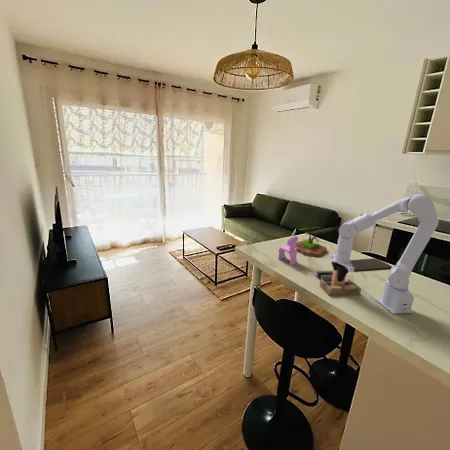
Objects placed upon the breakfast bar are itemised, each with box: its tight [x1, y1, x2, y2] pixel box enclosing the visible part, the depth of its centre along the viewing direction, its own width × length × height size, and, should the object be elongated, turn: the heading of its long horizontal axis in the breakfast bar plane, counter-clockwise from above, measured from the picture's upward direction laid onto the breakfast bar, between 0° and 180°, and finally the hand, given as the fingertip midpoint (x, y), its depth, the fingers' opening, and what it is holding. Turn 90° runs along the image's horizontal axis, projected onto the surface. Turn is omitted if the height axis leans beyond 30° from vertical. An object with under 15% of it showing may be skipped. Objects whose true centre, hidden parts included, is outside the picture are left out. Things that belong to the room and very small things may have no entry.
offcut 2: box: [342, 285, 356, 290], centre depth 107 cm, size 2×5×3 cm, turn 97°
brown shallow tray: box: [319, 278, 362, 296], centre depth 108 cm, size 8×14×3 cm, turn 97°
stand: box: [314, 270, 333, 282], centre depth 118 cm, size 6×9×2 cm, turn 97°
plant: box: [295, 232, 328, 258], centre depth 153 cm, size 20×20×11 cm
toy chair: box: [277, 235, 299, 266], centre depth 134 cm, size 8×9×15 cm
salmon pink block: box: [331, 270, 347, 285], centre depth 109 cm, size 2×5×8 cm, turn 97°
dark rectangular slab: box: [350, 258, 393, 273], centre depth 135 cm, size 12×2×25 cm
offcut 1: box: [329, 285, 343, 290], centre depth 106 cm, size 2×5×3 cm, turn 97°
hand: (338, 279), depth 109 cm, fingers closed on salmon pink block, 2 cm apart
